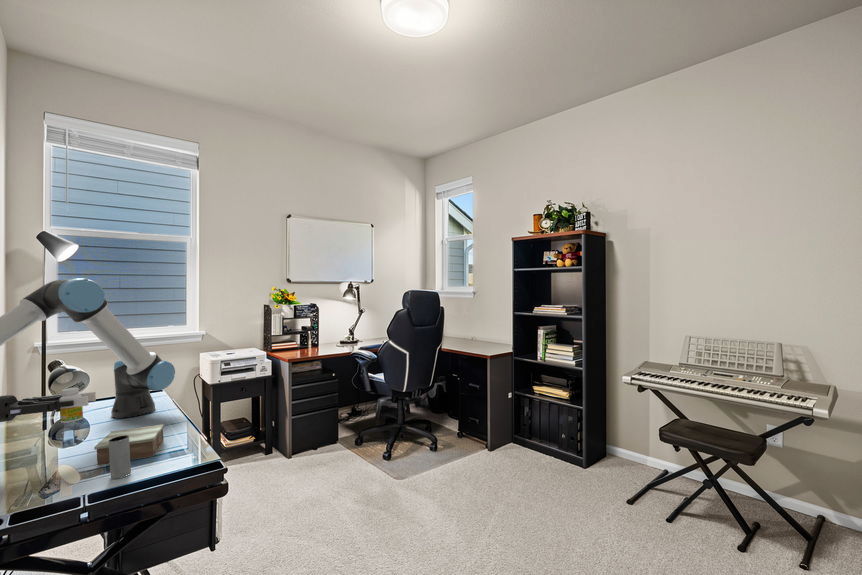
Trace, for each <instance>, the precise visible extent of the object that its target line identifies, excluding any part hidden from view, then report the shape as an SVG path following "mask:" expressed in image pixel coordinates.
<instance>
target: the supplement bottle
mask: <svg viewBox="0 0 862 575" xmlns="http://www.w3.org/2000/svg"><path fill="white" fill-rule="evenodd" d="M79 392H80V390H79V387H67V388H63V389H61V394H62V395H63V397H61V398H60V399H59V400H60V402H61V399H67V398H76V397H82V396H81V395H80V394H79ZM83 407H84V406H80V407H72V408H63V409H61V407H60V412H59V418H60V419H59V420H60V423H62V424H68V423H70V424H71V423H74V422H77V421H80V420H82V419H83V418H84V411H83V409H84V408H83Z"/></svg>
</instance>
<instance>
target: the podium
mask: <svg viewBox="0 0 862 575" xmlns="http://www.w3.org/2000/svg"><path fill="white" fill-rule="evenodd" d="M164 428H165V423H163V424H155V425H148V426H142V427H134V428H127V429H118V430H113V431H110V432H109V433H108V434H107V435H106V436H105V437H104V438H102V439H101V440H100V441H99V442H98V443H97V444H96V445H95V446H94V449H93V450H96V461H97V462H96V463H97V466H102V464H103V465H107V464H108V463H109V464H110V457H109V440H110V439H111V438H114V437H118V436H125V435H126V436H129V446H130V459H134V460H139V459H138V458H140V459H145V458H151V457H154V456H155V454H156V453H157V451H158V450H159V449H160V447H161V446H162V444H163V443H164Z"/></svg>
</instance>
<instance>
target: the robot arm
mask: <svg viewBox="0 0 862 575" xmlns="http://www.w3.org/2000/svg"><path fill="white" fill-rule="evenodd" d="M105 294H106V293H105V291H104V289H103V287H102V286H101V285H100V284H99V283H98V282H96V281H94V280H91V279H89V278H82V277H77V278H76V277H75V278H70V279H69V278H68V279H56V280H52V281H50V282H47V283H45V284H44V285H42V286H41V287H39V288H37V289H35V291H33V292H31V293H30V294H28V295H26V296H25V297H23V298H22V299H20V300H19V304H18V305H16V306H15V307H13V308H12V309H10V310H8V311H7V312H5V313H4V314H2V315H0V347H2V346H3V345H4V344H6V343H7V342H10V340H12V339H13V338H15V337H17V336H18V335H19V334H22V333H23V332H24V331H25V330H27V329H28V328H30V327H31V326H33V325H34V324H36V323H37V322H39V321H40V322H41V321H42V322H44V321H46V320H47V319H49V318H50V317H52V316H54V315H57V314H61V313H65V314H66V315H67V316H68V317H69V318H70V319H71V320H72V321H73V322H74V323H77V324H78V323H79V324H82V323H83V324H84V326H85V327H87V328H88V330H89V331H91V332H92V334H94V335H95V336H96V337H97V339H99V340H100V341H101V342H102V343H103V344H104V345H105V346H106V347H107V348H108V349H109V350H110V351H111V352H112V353H113V354H114V355H115V356H116V357H117V358H118V360H116V361H115V362H114V364H113V373H114V374H113V375H114V389H115V399H114V402H113V405H112V408H111V414H110V416H111V418H113V417H115V418H114V419H125V418H124V417H128V418H132V417H131V416H134V417H138V416H137V415H139V416H143V415H146V413H147V414H150V413H152V412H154V411H156V404H155V401H154V399H153V396H152V395H151V392H150V391H153V392H154V391H155V392H156V391H163V390H165V389H168V387H169V386H171V384H172V383H173V382H174V380H175V376H176V375H175V374H176V369H175V365H174V364H172V363H171V362H170V361H168V360H162V359H161V357H159V355H158V354H157V353H156V352H154V351H149V350H147V349H146V348H145V346H143V345H142V343H141V342H140V341H138V339H137V338H136V337H135V336H134V335H133V334H132V333H131V332H130V331H129V330H128V328H126V327H125V326H124V325H123V323H122V322H121V321H120V320H119V319H118V318H117V317H116V316H115V315H114V314H113V313H112V312H111V310H110V309H108V305H109V302H108V300H107V299H105ZM78 394H80V395H81V396H82V397H76V398H67V399H61V402H60V400H59V399H60V398H61V397H63V395H62V393H61V394H54V395H53V394H52V395H44V396H34V397H33V396H32V397H31V398H30V397H26V398H22V399H21V400H19V399H17V397H16V396H15V395H14V394H8V395H7V394H6V395H0V423H4V422H11V421H13V420H14V419H15V418H16V417H18V416H23V415H32V414H41V413H48V412H51V413H52V412H54V411H55V413H60V407H61V409H63V408H72V407H80V406H82V407H87V406H89V402H95V401H97V395H96V391H90V392H82V393H79V392H78ZM149 412H150V413H149ZM142 414H143V415H142Z"/></svg>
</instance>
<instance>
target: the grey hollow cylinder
mask: <svg viewBox="0 0 862 575" xmlns="http://www.w3.org/2000/svg"><path fill="white" fill-rule="evenodd" d="M109 457H110V463H109V472H110V479H112V480H118V478H120V479H123V478H122V477H124V476H126V475H128V474H130V473H132V468H131V466H132V465H131V460H130V446H129V436H126V435H125V436H118V437H114V438H111V439H110V440H109ZM128 476H129V475H128ZM126 477H127V476H126ZM124 478H125V477H124Z"/></svg>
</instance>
